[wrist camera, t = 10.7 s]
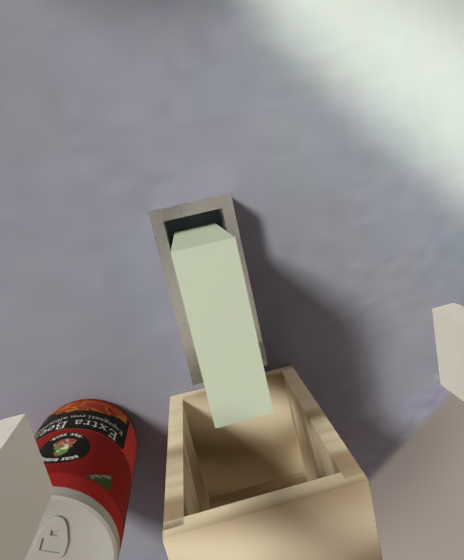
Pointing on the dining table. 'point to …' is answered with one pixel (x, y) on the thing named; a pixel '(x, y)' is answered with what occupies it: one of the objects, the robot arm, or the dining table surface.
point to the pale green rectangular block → (221, 323)
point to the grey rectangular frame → (164, 249)
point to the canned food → (85, 481)
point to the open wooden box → (264, 483)
